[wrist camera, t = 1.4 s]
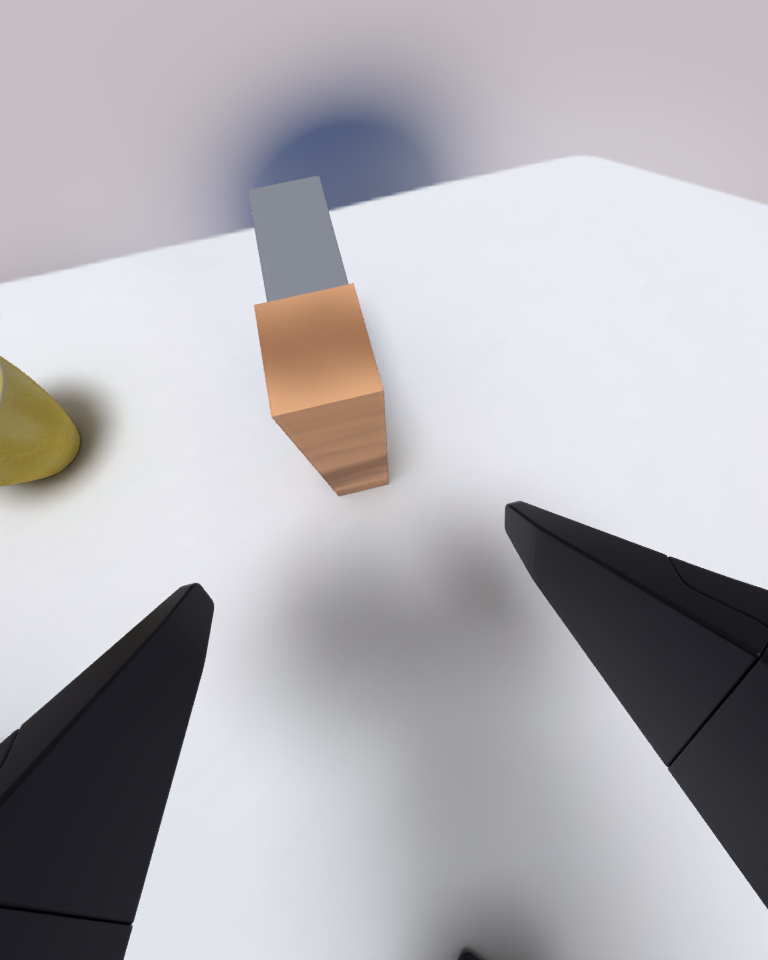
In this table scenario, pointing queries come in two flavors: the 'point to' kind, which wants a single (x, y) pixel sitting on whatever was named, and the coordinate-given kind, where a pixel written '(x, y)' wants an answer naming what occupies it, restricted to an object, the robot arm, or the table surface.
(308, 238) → the grey flat block
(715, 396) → the table surface
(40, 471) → the yellow bowl
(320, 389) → the wooden post
